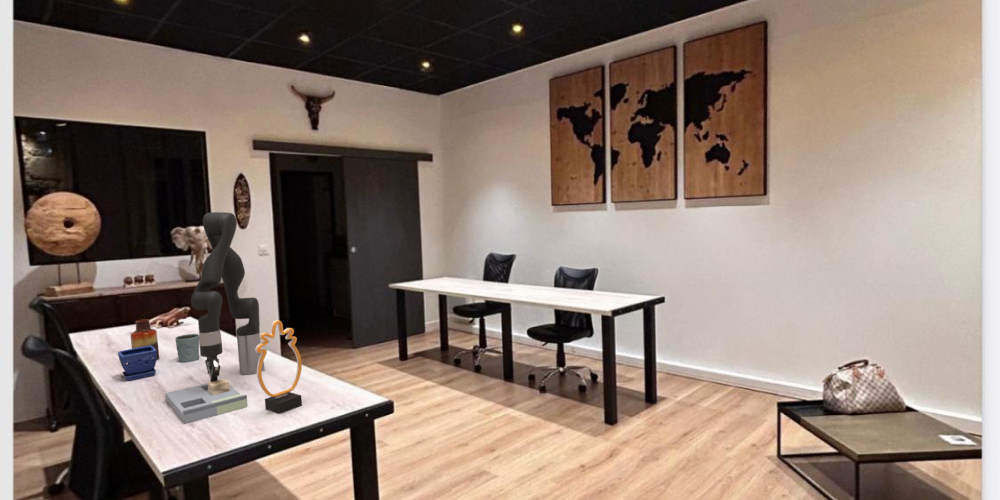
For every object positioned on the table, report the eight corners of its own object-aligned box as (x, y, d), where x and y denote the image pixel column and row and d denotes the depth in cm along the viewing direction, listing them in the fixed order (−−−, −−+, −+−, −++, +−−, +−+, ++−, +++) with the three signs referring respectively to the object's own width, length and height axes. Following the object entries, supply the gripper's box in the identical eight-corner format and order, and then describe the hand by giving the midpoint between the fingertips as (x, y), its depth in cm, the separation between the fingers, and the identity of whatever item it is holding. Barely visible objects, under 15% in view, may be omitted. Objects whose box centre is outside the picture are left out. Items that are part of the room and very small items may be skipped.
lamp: (269, 417, 178) (261, 326, 175) (254, 413, 183) (247, 324, 180) (311, 401, 192) (305, 317, 189) (297, 397, 197) (290, 315, 194)
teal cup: (187, 357, 262) (185, 333, 261) (205, 357, 260) (203, 333, 259) (172, 363, 252) (170, 338, 251) (191, 363, 250) (189, 338, 249)
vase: (149, 363, 253) (145, 322, 251) (127, 364, 253) (123, 323, 252) (164, 357, 264) (160, 317, 262) (143, 357, 264) (139, 318, 262)
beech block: (225, 387, 203) (224, 378, 202) (229, 390, 198) (229, 382, 198) (208, 391, 199) (207, 382, 198) (212, 395, 194) (211, 386, 194)
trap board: (222, 386, 213) (222, 376, 213) (247, 406, 189) (246, 395, 189) (165, 400, 200) (164, 389, 199) (184, 423, 176) (183, 411, 176)
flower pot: (123, 383, 224) (120, 356, 223) (119, 376, 234) (117, 350, 233) (159, 375, 232) (157, 349, 231) (154, 369, 242) (152, 344, 241)
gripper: (226, 343, 198) (229, 387, 200) (216, 337, 208) (220, 380, 210) (203, 347, 193) (208, 392, 195) (195, 341, 203) (199, 384, 205)
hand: (214, 386), depth 202 cm, fingers closed
